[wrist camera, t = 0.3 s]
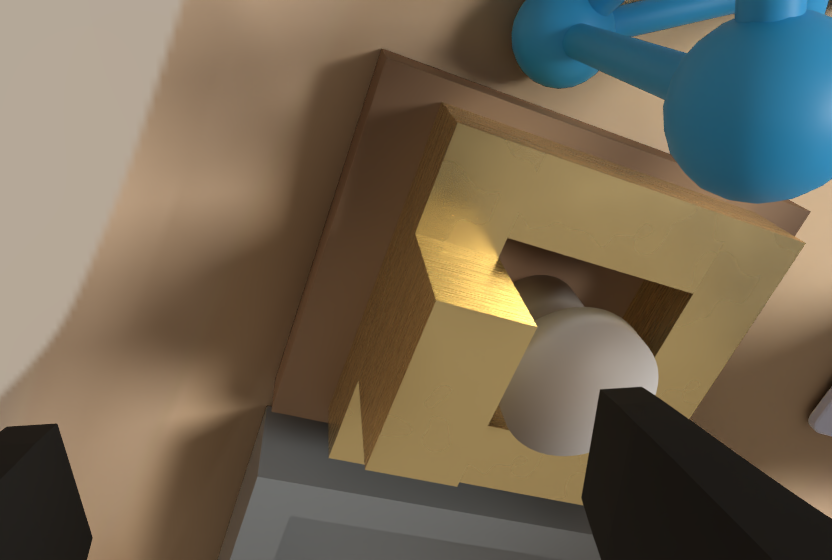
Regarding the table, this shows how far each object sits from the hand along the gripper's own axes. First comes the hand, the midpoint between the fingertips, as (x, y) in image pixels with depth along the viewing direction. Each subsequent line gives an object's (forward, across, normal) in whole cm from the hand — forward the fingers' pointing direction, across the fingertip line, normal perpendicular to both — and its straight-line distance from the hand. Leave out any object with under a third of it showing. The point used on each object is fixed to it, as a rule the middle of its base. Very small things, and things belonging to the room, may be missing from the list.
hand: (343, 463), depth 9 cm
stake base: (+10, -5, +2) cm, 11 cm away
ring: (+8, -5, +2) cm, 10 cm away
